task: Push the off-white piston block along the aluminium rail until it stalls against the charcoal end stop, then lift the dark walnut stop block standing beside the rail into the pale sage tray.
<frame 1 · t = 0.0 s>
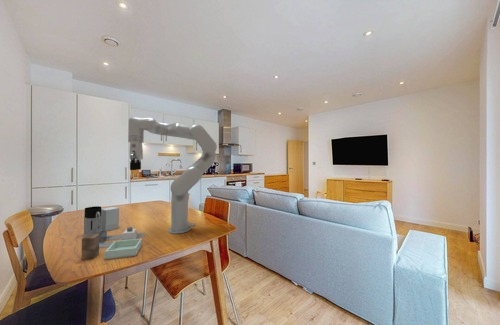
hand: (135, 169, 111), 37 cm above the table, tool pointing down, fingers open, 9 cm apart
tray: (124, 252, 89), on the table
piston block: (129, 234, 101), point 3 cm above the table, slide at -4.0 cm
supplement box: (109, 229, 120), on the table
glass holder: (94, 235, 109), on the table
stop block: (90, 257, 84), on the table
piston rail: (120, 241, 100), on the table
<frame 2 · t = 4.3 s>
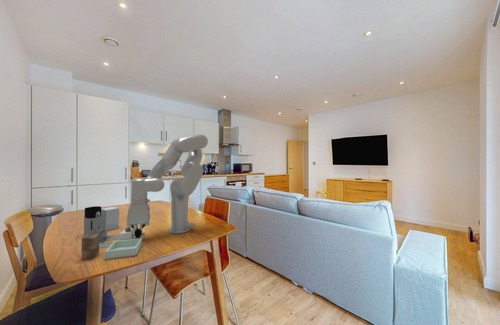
hand: (138, 237, 103), 2 cm above the table, tool pointing down, fingers closed
piston block: (127, 234, 101), point 3 cm above the table, slide at -3.1 cm, touching gripper
everything else where it was.
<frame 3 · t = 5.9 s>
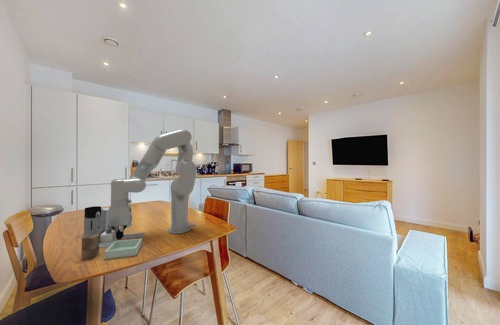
hand: (119, 238, 100), 2 cm above the table, tool pointing down, fingers closed
piston block: (108, 236, 99), point 3 cm above the table, slide at 5.4 cm, touching gripper
everything else where it was.
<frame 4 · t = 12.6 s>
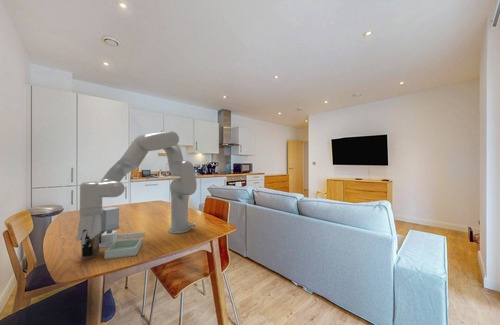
hand: (90, 252, 84), 2 cm above the table, tool pointing down, fingers closed on stop block, 4 cm apart
piston block: (109, 236, 99), point 3 cm above the table, slide at 5.0 cm
stop block: (90, 257, 84), on the table, touching gripper
everything else where it was.
when the fingers open (4 cm above the table, at t = 19.8 s): stop block drops 2 cm, resting on tray.
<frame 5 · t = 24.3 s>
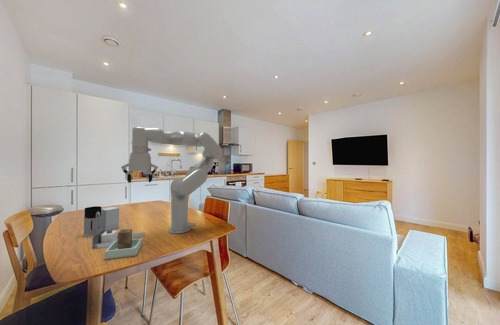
hand: (139, 182, 105), 30 cm above the table, tool pointing down, fingers open, 9 cm apart
stop block: (124, 250, 89), point 1 cm above the table, touching tray
everything else where it was.
at the end: piston block slide at 5.0 cm; stop block 0.0 cm off-centre on the tray, point 0.6 cm above the tray's base; stop block tilted 0° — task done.
